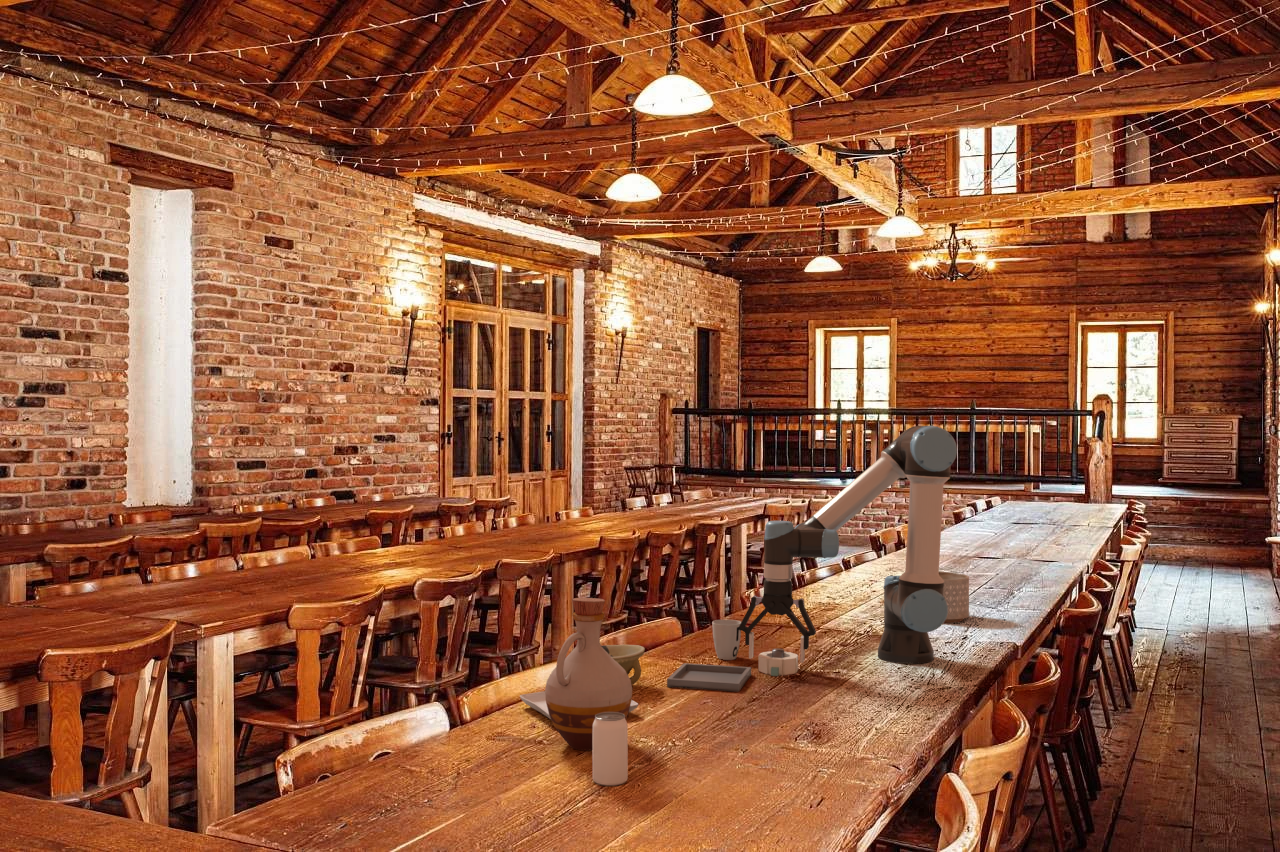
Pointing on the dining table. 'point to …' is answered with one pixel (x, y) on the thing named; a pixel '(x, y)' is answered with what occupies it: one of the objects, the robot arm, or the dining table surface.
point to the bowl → (627, 658)
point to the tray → (709, 677)
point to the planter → (956, 595)
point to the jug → (585, 679)
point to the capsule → (778, 653)
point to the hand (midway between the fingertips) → (776, 659)
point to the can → (610, 749)
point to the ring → (778, 664)
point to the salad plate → (540, 705)
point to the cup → (726, 638)
